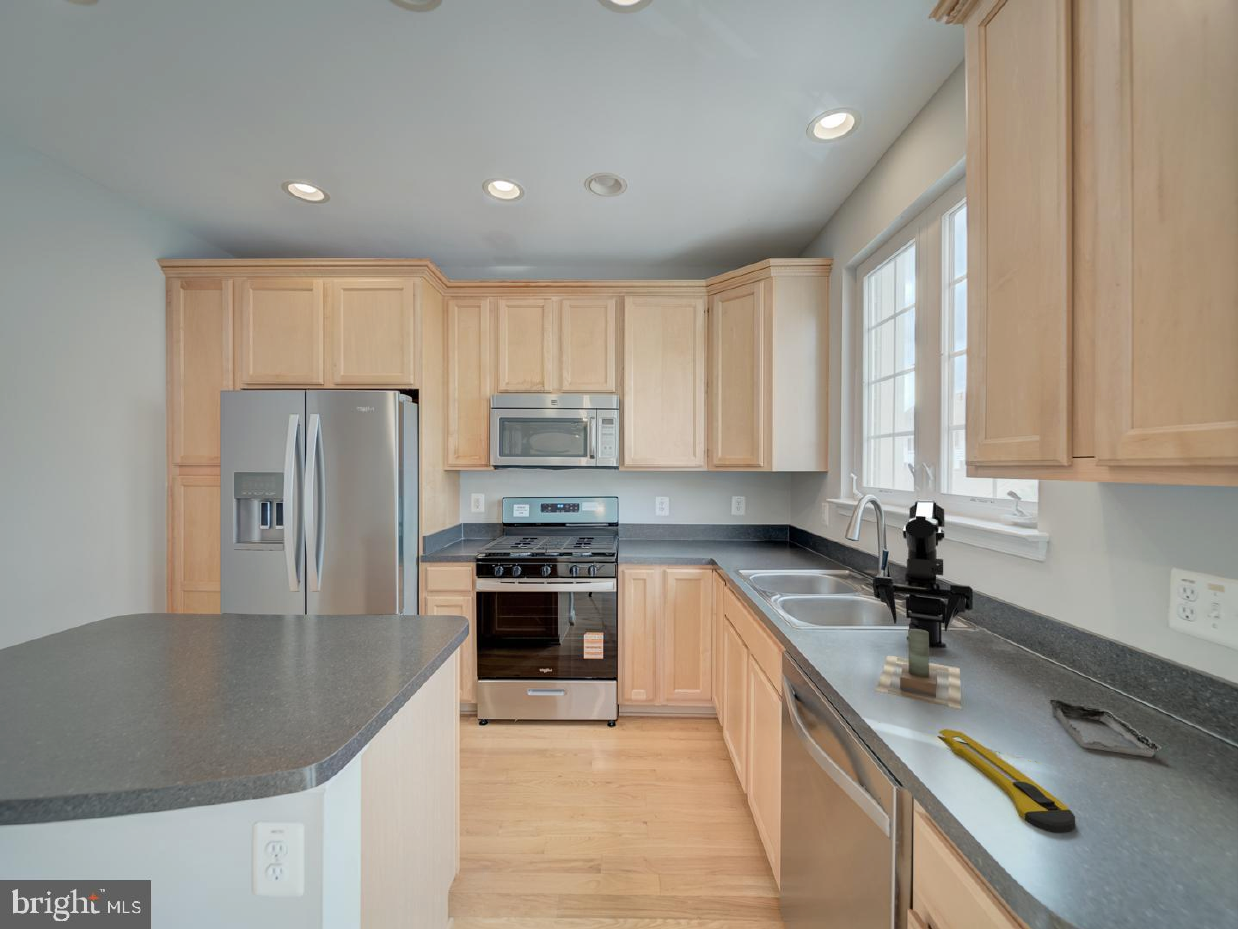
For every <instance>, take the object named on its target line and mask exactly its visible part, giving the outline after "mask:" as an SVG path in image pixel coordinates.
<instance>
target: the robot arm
mask: <svg viewBox="0 0 1238 929" xmlns="http://www.w3.org/2000/svg"><path fill="white" fill-rule="evenodd" d="M937 504H938V503H937V501H936V500H933V499H917V500H915V501H914V504H913V505H912V506H910V507H909V516H908V518H909V519H908V521H907V524H904V526H903V530H902V536H903V539H904V540H906V545H907V548H908V550H907V551H908V552H907V559H906V568H905V572H904V573H905V574H904V578H905V582H906V584H901V583H894V577H892V576H891V577H888V576H882V575H881V576H880V575H879V576H878V575H876V576H874V578H872V589H873V595H874V596H873V597H874V598H875V599H877V600H880V601H881V603H885V604H886V606H887V608H888V610H889V612H890V615H891V617H892V618H891V619H892V622H893V624H897V620H898V618H897V609H896V598H895V594H900V595H902V594H903V595H905V608H906V609H905V610H906V611H905V612H906V613H905V614H906V619H910V622H909V623H908V630H909V629H921V630H925V631H927V632H929V648H930V647H933V648H934V647H947V644H946V642H943V641H942V638H943V637H942V624H944V632H947V631H948V630H949V628H950V626H951V625H952V624H953V623H952V622H953V621H954V620H955V618H956V617H957V616H958V615H959V614H960V613H961V614H962V613H965V612H966V611H971V610H973V606H974V605H973V604H974V603H973V599H974V596H973V595H974V593H973V590H974V589H973V588H972V586H970V585H969V584H968V585H967V584H958V583H950V584H949V585H950V586H949V588H950V590H949V589H944V588H943V589H942V588H941V586H940V584H939V583H937V576H944V559H943V558H937V549H936V547H938V546H939V542H942V541H943V539H945V531H944V530H943V528H945V509H944V508H942V507H941V506H939V505H937ZM945 600H947V603H946V601H945ZM906 639H907V640H908V635H907V636H906Z"/></svg>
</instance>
